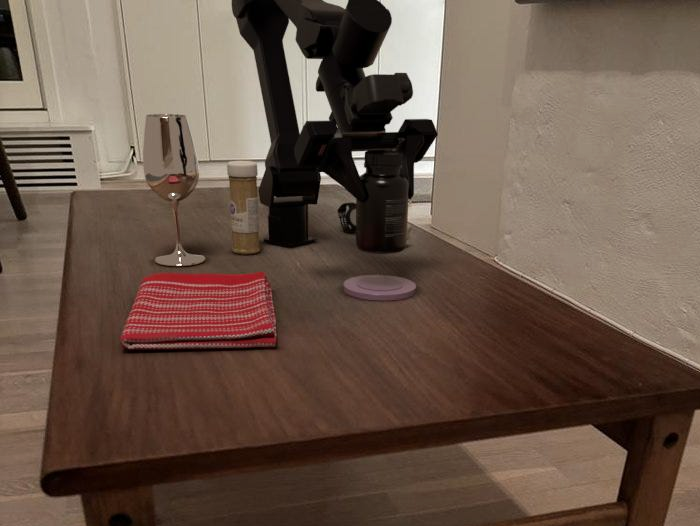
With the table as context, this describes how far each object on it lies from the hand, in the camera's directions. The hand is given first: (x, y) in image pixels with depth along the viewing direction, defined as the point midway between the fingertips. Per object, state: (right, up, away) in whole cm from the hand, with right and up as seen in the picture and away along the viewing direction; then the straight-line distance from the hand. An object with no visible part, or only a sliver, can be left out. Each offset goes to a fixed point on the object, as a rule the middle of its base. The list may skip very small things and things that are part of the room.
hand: (387, 198), depth 94 cm
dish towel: (-22, -17, -5) cm, 28 cm away
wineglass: (-31, -3, +18) cm, 36 cm away
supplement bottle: (-1, -5, +5) cm, 7 cm away
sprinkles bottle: (-22, 0, +24) cm, 33 cm away
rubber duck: (+2, +3, +29) cm, 29 cm away
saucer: (-1, -10, +7) cm, 12 cm away
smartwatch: (-5, +9, +40) cm, 41 cm away
